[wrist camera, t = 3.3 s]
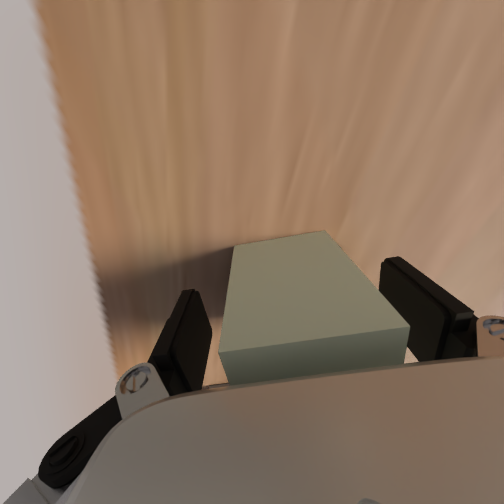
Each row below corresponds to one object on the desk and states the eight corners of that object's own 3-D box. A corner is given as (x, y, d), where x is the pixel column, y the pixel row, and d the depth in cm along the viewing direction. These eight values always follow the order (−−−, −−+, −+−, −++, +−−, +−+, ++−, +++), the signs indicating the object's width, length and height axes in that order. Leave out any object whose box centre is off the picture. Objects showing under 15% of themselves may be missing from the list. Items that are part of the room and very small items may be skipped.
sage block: (234, 245, 12) (218, 352, 6) (324, 230, 12) (410, 326, 6) (250, 314, 14) (251, 446, 8) (327, 302, 14) (391, 431, 8)
